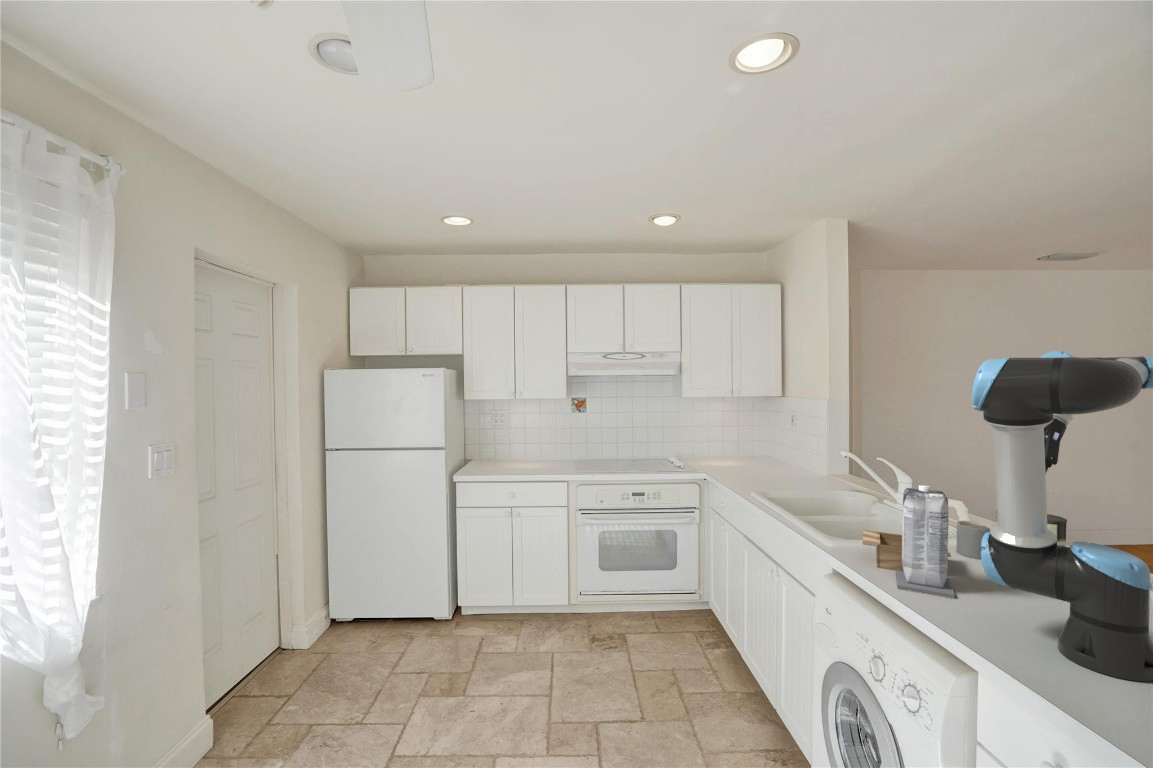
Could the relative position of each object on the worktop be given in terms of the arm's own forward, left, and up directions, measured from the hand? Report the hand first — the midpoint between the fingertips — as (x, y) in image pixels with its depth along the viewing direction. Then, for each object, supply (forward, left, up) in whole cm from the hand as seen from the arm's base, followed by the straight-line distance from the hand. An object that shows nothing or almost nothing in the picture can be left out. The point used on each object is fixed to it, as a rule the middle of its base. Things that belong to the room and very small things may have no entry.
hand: (1016, 490), depth 139 cm
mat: (-1, +20, -29) cm, 35 cm away
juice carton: (-1, +20, -28) cm, 35 cm away
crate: (+16, +24, -29) cm, 41 cm away
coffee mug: (+38, +1, -29) cm, 48 cm away
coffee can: (+43, -16, -29) cm, 54 cm away
